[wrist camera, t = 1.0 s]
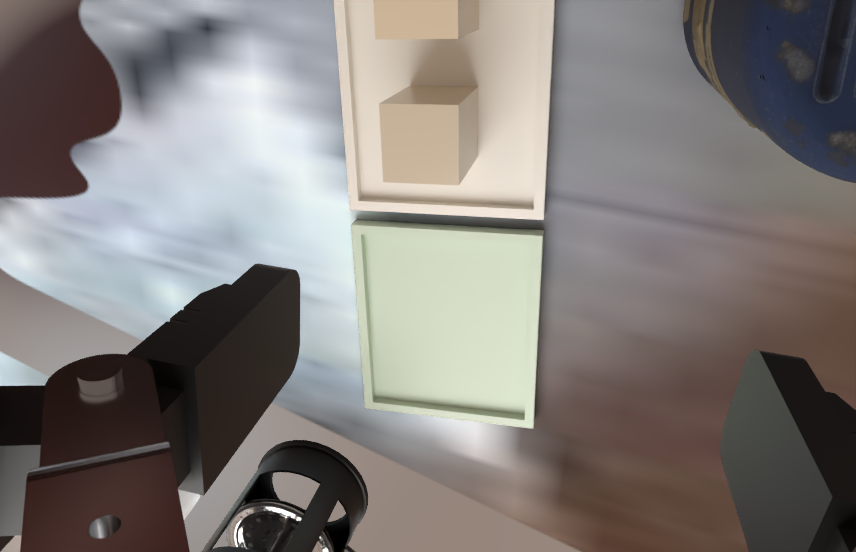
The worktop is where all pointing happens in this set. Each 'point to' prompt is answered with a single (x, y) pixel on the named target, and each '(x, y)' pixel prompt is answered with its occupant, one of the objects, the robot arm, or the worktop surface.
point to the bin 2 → (449, 319)
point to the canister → (784, 72)
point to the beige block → (429, 134)
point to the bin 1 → (454, 66)
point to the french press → (289, 524)
